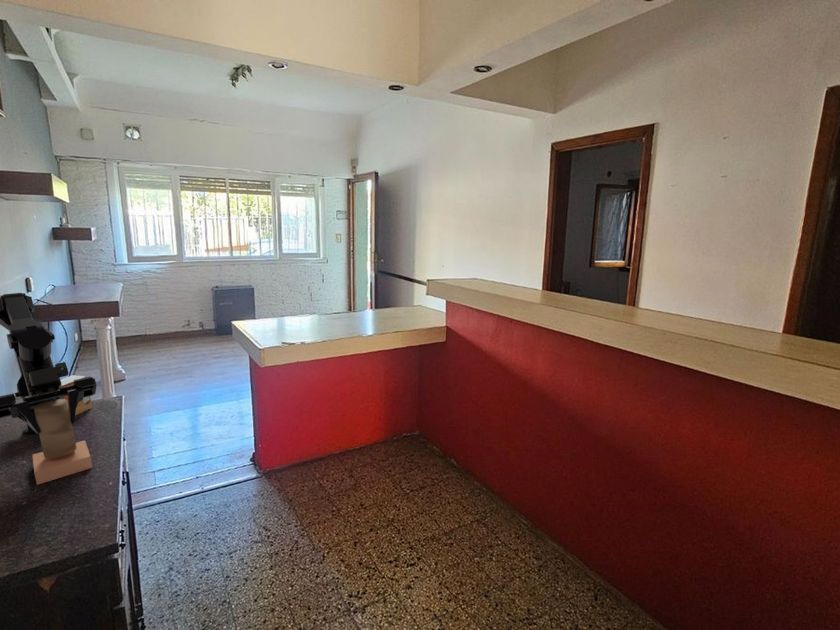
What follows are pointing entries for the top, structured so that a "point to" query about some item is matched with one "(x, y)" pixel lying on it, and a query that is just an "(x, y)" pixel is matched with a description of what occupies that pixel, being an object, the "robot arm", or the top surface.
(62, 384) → the small box
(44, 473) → the terracotta plinth
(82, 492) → the top surface
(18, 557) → the top surface
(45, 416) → the beige tall cylinder
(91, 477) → the top surface
